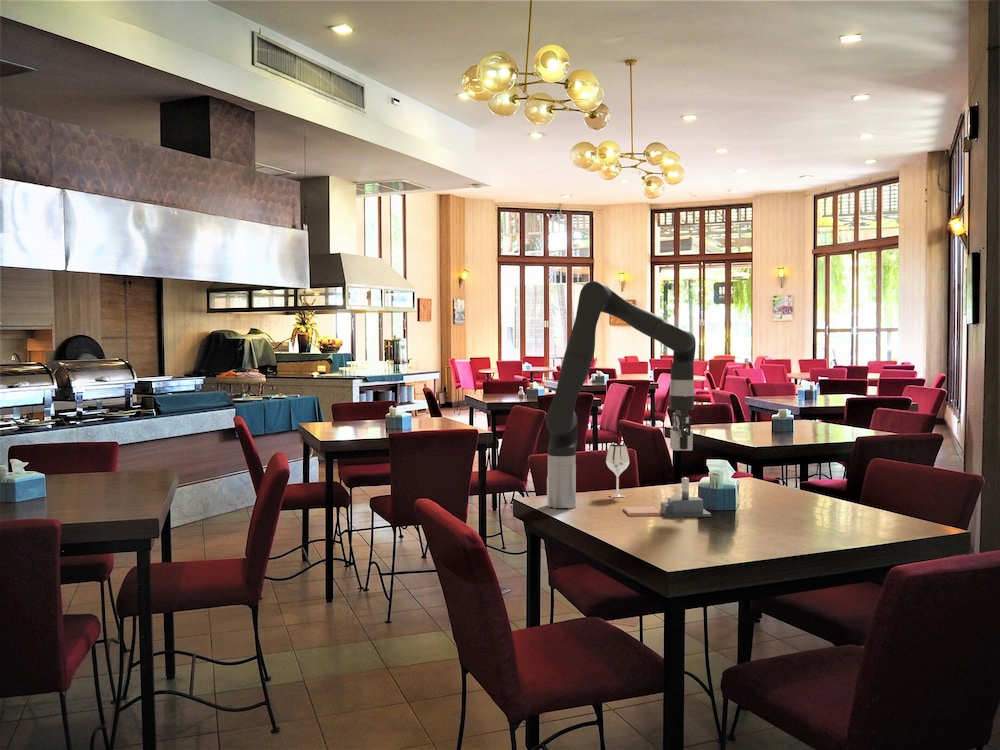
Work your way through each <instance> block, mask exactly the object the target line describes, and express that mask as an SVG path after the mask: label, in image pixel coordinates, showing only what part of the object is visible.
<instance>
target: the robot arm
mask: <svg viewBox="0 0 1000 750" xmlns="http://www.w3.org/2000/svg"><path fill="white" fill-rule="evenodd" d="M601 313H605V314H608V315H611V316H613V317H615V318H618V319H619V320H621V321H622V322H624V323H626V324H627V325H629V326H630V327H632V328H633V329H635V330H637V331H638V332H640V333H642V334H643V335H645V336H646V337H649V338H650V339H653V340H654V341H657V342H659V343H660V344H663V345H664V346H666V347H667V348H668V349H670V350H672V351H673V353H672V354H673V357H672V358H673V360H672V362H671V366H670V381H669V383H670V384H669V409H670V410H675V412H673V413H672V416H671V417H672V418H671V419H672V429H676V430H677V429H678V430H679V431H680V449H687V448H688V437H689V436H690V431H692V429H691V428H692V416H690V415H689V411H693V410H694V408H695V381H694V380H695V379H694V375H695V373H694V371H695V369H694V361H695V356H696V337H695V335H694V334H693V333H692V332H691V331H689V330H684V329H681V328H680V327H678V326H675V325H674V324H671V323H669V321H667V320H666V319H665V318H663V317H661V316H659V315H657V314H655V313H652V312H651V311H649V310H647V309H645V308H642V307H640V306H638V305H636V304H633V303H632V302H630V301H628V300H627V299H624V298H623V297H622V296H620V295H618V294H617V293H616V292H615V291H614V290H612V289H611V288H610V286H608V285H607V284H605V283H602V282H601V281H595V280H592V281H589V282H587V283H585V284H584V285H583V287H582V288H581V290H580V292H579V295H578V301H577V309H576V315H575V319H574V323H573V325H572V329H571V332H570V335H569V338H568V342H567V345H566V349H565V351H564V355H563V359H562V361H561V363H562V364H561V367H560V371H559V376H558V380H557V385H556V390H555V393H554V396H553V398H552V401H551V404H550V405H549V409H548V411H547V413H546V416H545V425H546V428H547V430H548V431H549V441H548V446H547V477H546V506H547V505H548V506H547V507H548V508H549V507H553V508H552V509H556V508H568V509H574V508H576V505H577V504H576V503H577V497H576V495H577V494H576V491H577V490H576V489H577V487H576V485H577V483H576V481H577V480H576V479H577V478H576V477H577V476H576V474H577V471H576V470H577V464H576V460H577V457H576V456H577V455H576V452H577V451H576V450H577V445H578V416H577V414H576V411H575V408H576V403H577V399H578V397H579V394H580V392H581V390H582V388H583V386H584V384H585V381H586V380H587V378H588V375H589V373H590V370H591V366H592V363H593V359H594V356H595V355H594V354H595V349H596V331H597V330H596V329H597V324H598V321H599V318H600V315H601ZM684 430H685V431H686V432H684Z"/></svg>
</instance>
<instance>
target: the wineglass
mask: <svg viewBox="0 0 1000 750" xmlns="http://www.w3.org/2000/svg"><path fill="white" fill-rule="evenodd" d="M605 458H606V459H605V463H606V466H607V467H608V469H609V470H611V472H613V474H614V475H615V476H616V493H613V496H611V497H610V498H613V497H624V498H627V497H628V496H627V495H626V494H623V493H622V494H621V493H620V489H619V487H620V484H619V483H620V478H619V477H620V475H621V474H622V473H623V472H624V471H625V470H627V469H628V467H629V465H630V456H629V453H628V448H627V445H626V444H609V446H608V449H607V453H606V457H605ZM626 496H627V497H626Z"/></svg>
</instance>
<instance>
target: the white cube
mask: <svg viewBox="0 0 1000 750" xmlns="http://www.w3.org/2000/svg"><path fill="white" fill-rule="evenodd" d="M669 431H670V433H669V435H670V442H669V443H670V444H669V447H670V449H671V450H672V451H693V448H694V445H693V441H694V439H693V438H694V437H693V436H694V432H693V431H692V430H691V431H690V436H689V437H688V448H687V449H680V431H679V430H678V429H677V430H676V429H673V428H672V429H670V430H669ZM684 432H686V431H685V430H684Z"/></svg>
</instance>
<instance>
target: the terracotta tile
mask: <svg viewBox="0 0 1000 750" xmlns="http://www.w3.org/2000/svg"><path fill="white" fill-rule="evenodd" d="M623 510H624V511H625V512H626V513H627V514H628V515H629V516H628V515H627V514H626V515H627V516H628V517H658V516H659V517H660V516H661V515H662V514H661V512H660V510H659V509H657V508H656V507H655V506H622V511H623ZM624 511H623V512H624ZM625 512H624V513H625Z"/></svg>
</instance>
